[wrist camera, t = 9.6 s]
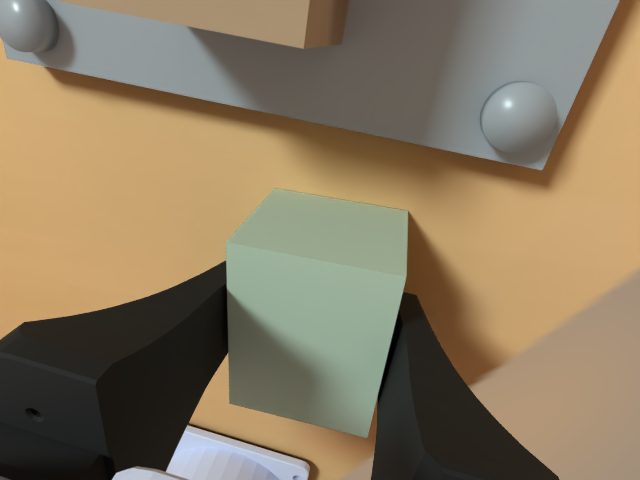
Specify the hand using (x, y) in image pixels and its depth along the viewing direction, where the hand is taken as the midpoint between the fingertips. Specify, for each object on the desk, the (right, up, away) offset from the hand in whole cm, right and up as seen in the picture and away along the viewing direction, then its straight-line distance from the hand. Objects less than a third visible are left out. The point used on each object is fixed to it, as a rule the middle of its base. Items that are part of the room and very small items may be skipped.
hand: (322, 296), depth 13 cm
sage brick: (0, +1, +1) cm, 1 cm away
